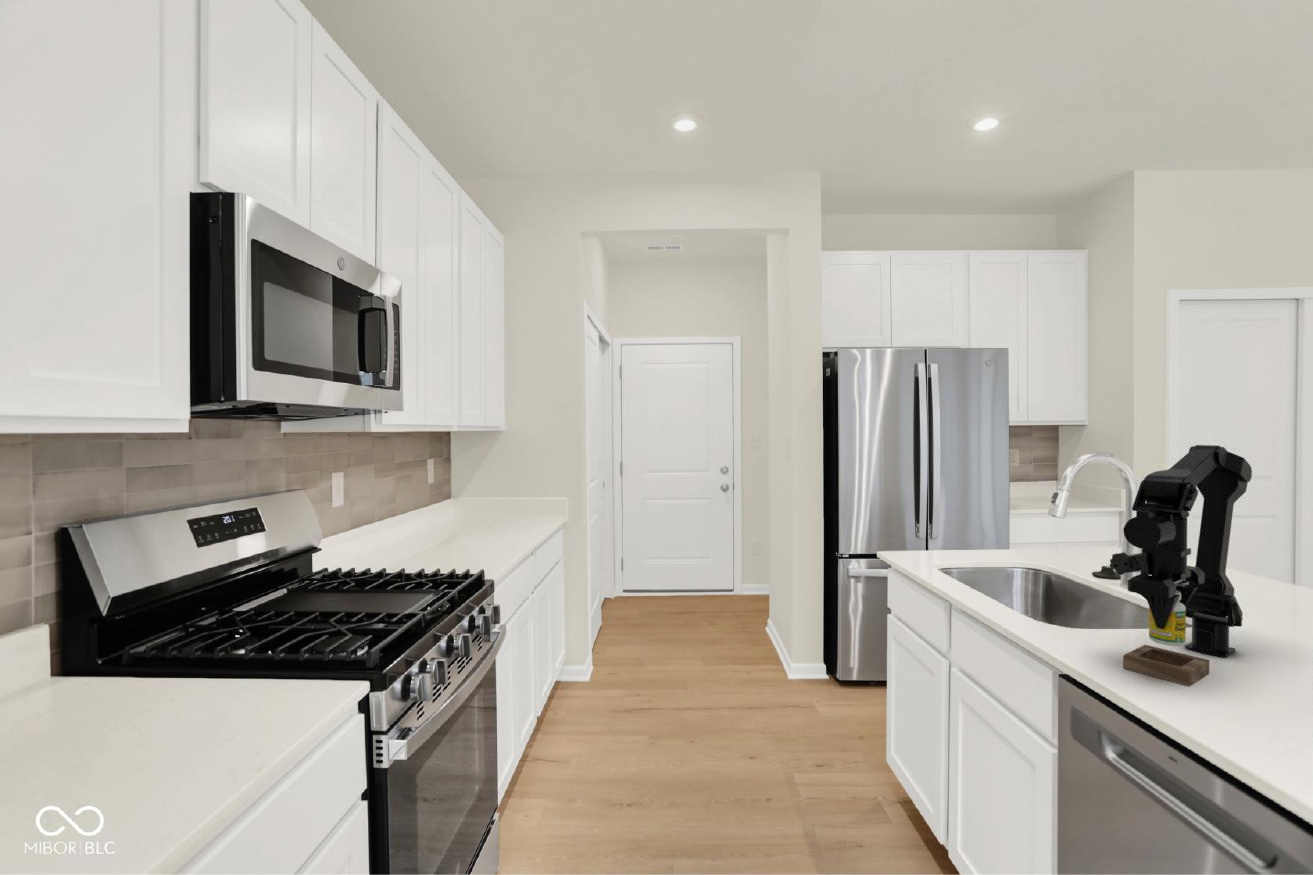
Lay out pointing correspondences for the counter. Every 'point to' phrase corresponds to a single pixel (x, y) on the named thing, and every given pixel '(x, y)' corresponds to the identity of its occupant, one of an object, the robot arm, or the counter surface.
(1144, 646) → the socket block
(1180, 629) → the supplement bottle
